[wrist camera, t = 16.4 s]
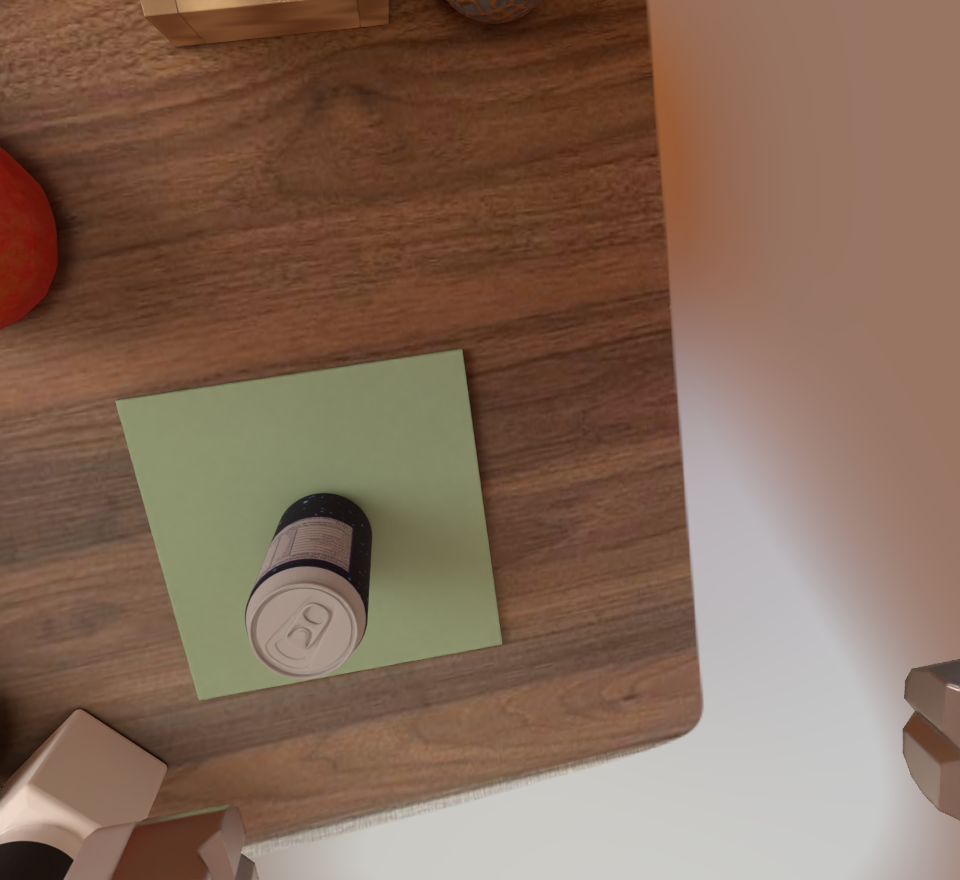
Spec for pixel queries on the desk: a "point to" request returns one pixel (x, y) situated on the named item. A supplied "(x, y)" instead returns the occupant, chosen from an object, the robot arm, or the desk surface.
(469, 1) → the vase
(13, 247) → the apple
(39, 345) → the desk surface
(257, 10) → the holder
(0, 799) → the medicine bottle
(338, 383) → the mat
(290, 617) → the beverage can
